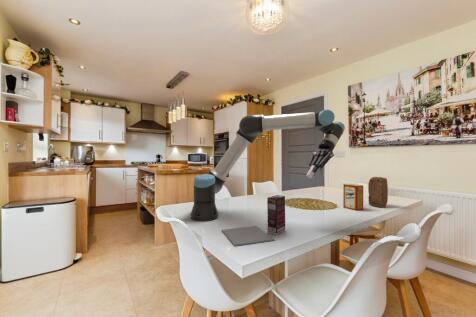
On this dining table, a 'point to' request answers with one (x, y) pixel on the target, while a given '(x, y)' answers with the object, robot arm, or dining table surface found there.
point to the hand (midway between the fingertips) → (308, 176)
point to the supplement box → (276, 214)
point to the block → (378, 191)
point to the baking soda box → (353, 197)
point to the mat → (247, 235)
